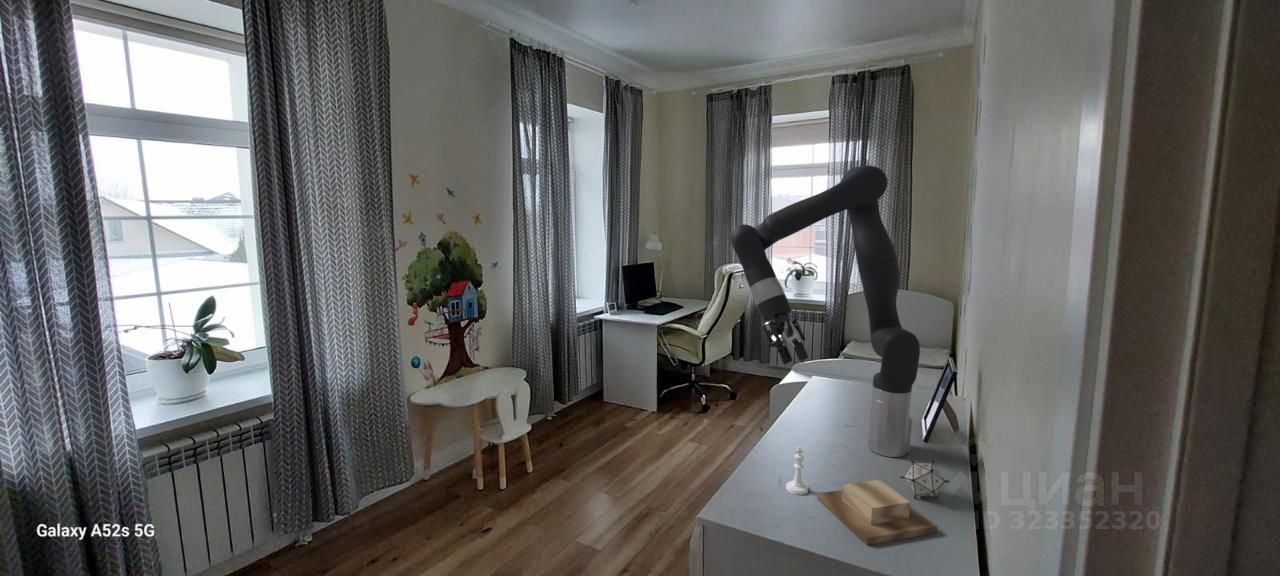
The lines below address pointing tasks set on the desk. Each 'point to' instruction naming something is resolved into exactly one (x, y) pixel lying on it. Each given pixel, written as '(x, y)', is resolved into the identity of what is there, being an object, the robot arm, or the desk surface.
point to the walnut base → (876, 529)
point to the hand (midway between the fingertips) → (796, 361)
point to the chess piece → (798, 476)
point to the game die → (924, 479)
